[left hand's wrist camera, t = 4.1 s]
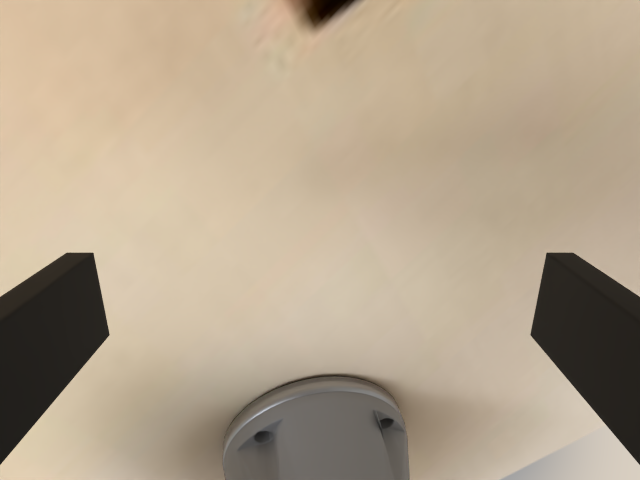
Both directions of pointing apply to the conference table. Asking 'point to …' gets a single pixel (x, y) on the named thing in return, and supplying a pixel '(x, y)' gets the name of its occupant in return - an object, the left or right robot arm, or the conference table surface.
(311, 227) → the conference table surface
